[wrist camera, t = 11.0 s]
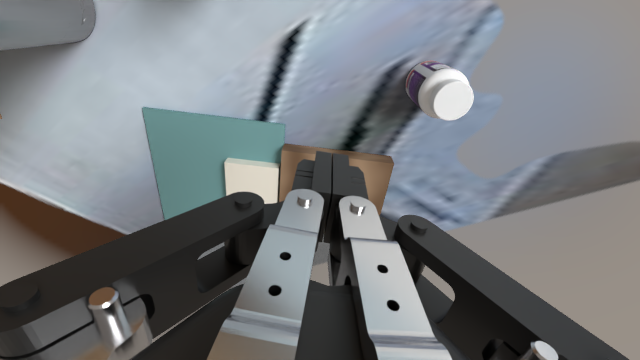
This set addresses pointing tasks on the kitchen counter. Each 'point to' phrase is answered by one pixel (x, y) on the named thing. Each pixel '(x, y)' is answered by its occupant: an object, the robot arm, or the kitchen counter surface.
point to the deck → (370, 164)
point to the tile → (253, 178)
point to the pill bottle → (439, 90)
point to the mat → (203, 153)
